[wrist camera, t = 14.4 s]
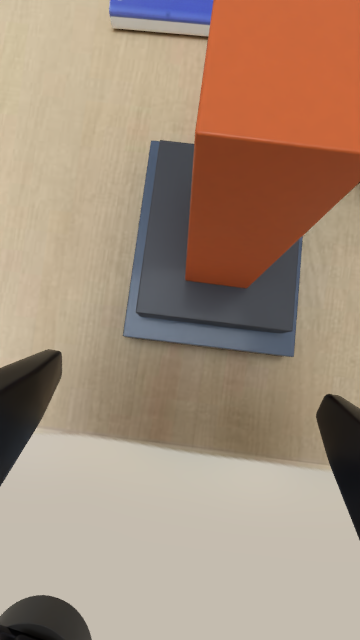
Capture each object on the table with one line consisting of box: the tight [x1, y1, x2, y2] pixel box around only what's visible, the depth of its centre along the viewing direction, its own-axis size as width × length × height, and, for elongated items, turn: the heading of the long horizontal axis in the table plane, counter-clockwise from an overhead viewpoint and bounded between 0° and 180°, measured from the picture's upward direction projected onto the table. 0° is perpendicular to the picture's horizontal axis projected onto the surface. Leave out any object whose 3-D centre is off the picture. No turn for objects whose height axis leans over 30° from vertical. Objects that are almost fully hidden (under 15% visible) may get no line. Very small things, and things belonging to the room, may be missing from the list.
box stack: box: [123, 140, 303, 357], centre depth 20 cm, size 15×12×4 cm
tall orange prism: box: [185, 0, 360, 288], centre depth 12 cm, size 7×4×12 cm, turn 172°
